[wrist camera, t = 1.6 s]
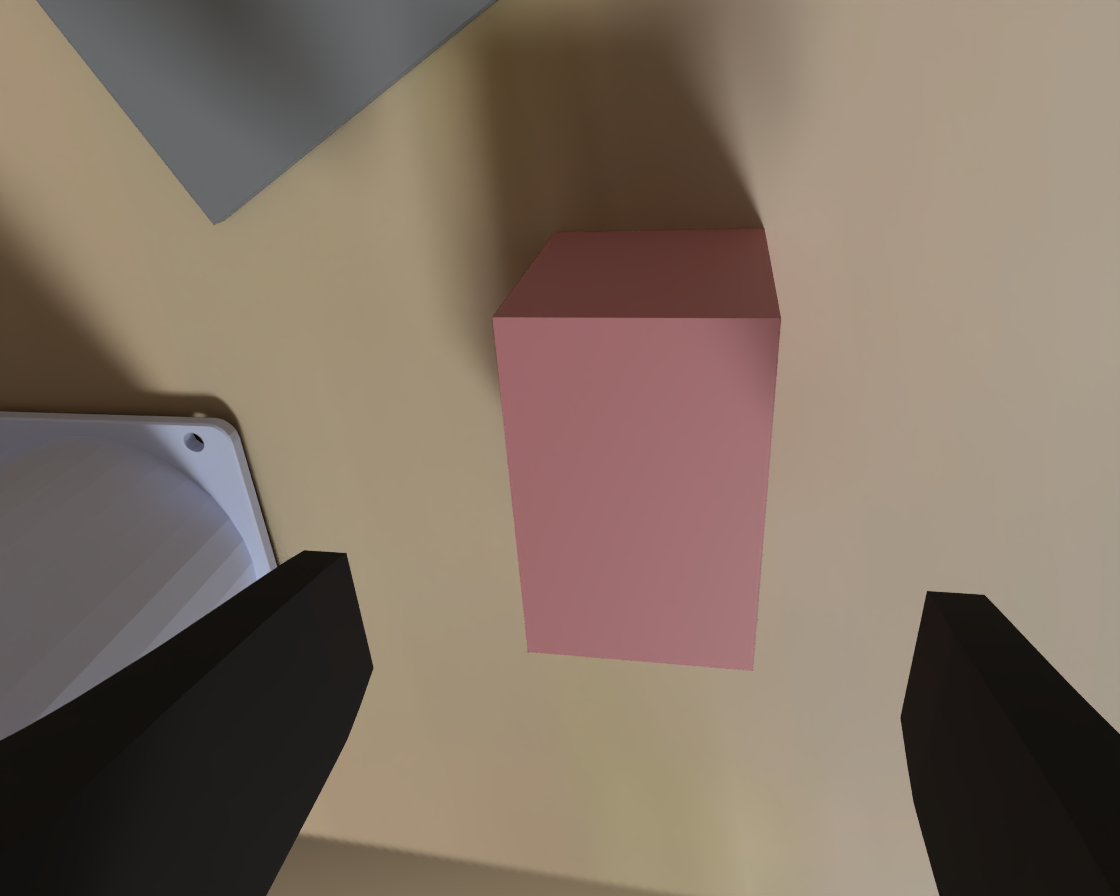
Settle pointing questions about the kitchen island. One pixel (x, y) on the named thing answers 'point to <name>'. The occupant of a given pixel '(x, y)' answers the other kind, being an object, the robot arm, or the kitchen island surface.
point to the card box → (641, 441)
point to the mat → (249, 75)
